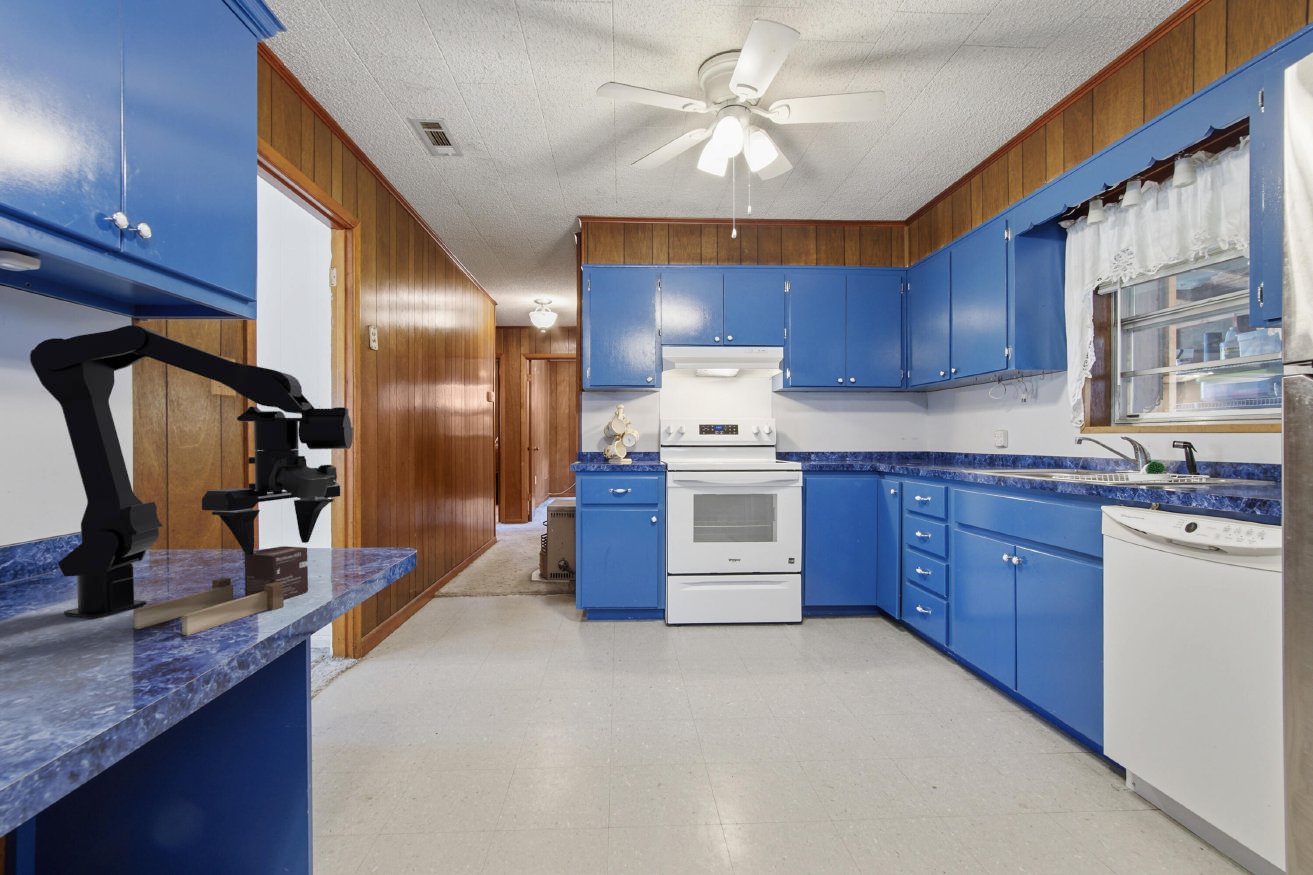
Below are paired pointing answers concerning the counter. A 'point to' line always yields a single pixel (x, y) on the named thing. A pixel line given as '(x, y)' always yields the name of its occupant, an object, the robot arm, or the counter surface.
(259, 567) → the box
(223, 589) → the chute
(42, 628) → the counter surface
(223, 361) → the robot arm
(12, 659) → the counter surface
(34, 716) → the counter surface
